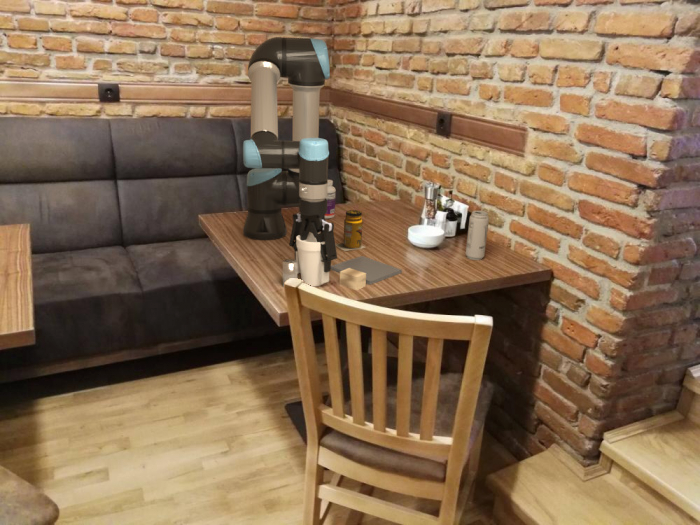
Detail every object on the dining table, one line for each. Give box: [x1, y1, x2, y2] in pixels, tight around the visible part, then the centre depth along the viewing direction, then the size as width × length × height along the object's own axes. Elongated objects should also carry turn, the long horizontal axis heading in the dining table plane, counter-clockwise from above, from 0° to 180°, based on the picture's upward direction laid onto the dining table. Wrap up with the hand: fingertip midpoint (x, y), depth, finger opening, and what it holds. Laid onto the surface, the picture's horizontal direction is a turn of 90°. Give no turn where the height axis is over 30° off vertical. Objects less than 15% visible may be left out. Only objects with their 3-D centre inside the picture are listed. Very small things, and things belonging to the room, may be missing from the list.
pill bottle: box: [325, 179, 337, 220], centre depth 217 cm, size 8×8×14 cm
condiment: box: [335, 209, 367, 252], centre depth 184 cm, size 7×8×12 cm
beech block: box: [339, 268, 367, 291], centre depth 154 cm, size 6×4×4 cm, turn 51°
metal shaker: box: [282, 258, 299, 288], centre depth 151 cm, size 4×4×7 cm
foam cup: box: [296, 232, 327, 287], centre depth 153 cm, size 10×9×13 cm
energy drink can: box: [465, 210, 490, 261], centre depth 177 cm, size 6×6×15 cm
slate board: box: [330, 255, 403, 286], centre depth 165 cm, size 16×14×1 cm
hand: (312, 277), depth 155 cm, fingers closed on foam cup, 9 cm apart
